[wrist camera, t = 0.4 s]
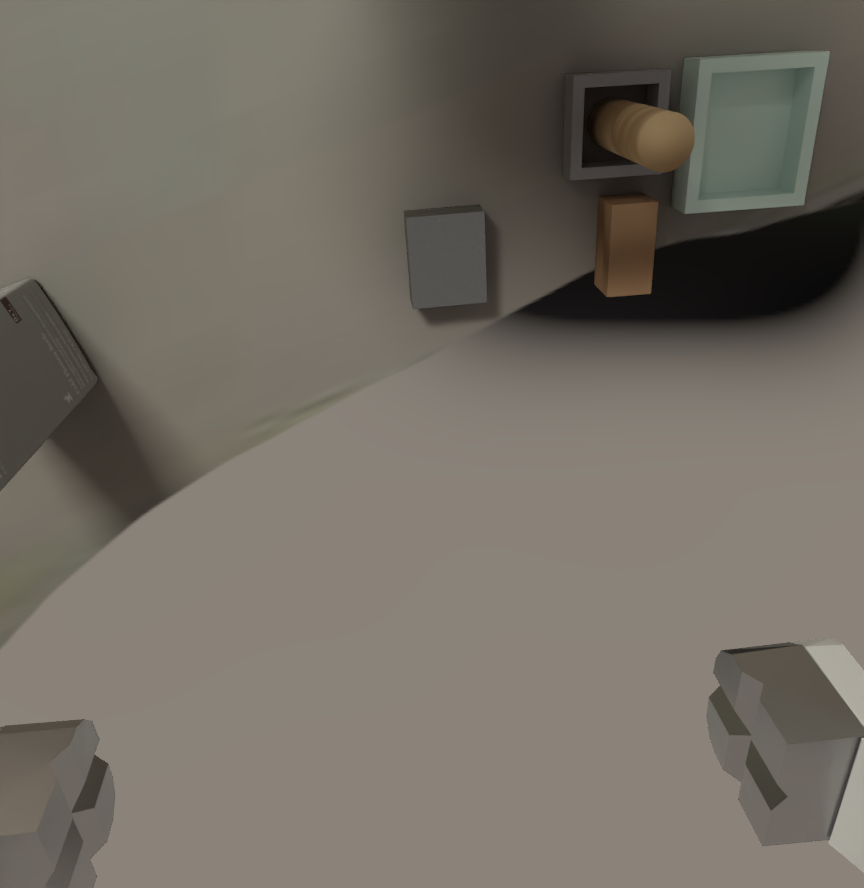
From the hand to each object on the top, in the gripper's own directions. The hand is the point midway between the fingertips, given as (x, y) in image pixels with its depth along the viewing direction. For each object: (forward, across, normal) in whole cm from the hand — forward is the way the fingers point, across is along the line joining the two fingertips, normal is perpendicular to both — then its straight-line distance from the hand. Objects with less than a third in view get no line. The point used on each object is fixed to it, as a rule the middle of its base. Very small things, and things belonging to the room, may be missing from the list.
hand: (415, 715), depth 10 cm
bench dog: (+45, -17, +6) cm, 48 cm away
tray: (+45, -25, -1) cm, 51 cm away
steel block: (+45, -5, +6) cm, 46 cm away
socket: (+45, -16, -2) cm, 48 cm away
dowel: (+45, -16, -2) cm, 48 cm away
